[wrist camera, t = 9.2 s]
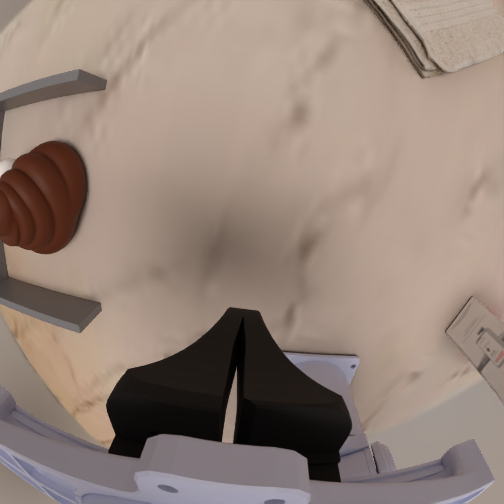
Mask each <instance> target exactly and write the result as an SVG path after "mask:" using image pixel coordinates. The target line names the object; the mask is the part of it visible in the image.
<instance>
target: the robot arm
mask: <svg viewBox="0 0 504 504" xmlns="http://www.w3.org/2000/svg"><path fill="white" fill-rule="evenodd" d="M359 362H360V360H359V357H357V356H338V355H317V354H302V353H289V352H282V351H281V349H280V348H279V347H278V345H277V344H276V342H275V341H274V339H273V338H272V336H271V334H270V333H269V331H268V329H267V327H266V325H265V323H264V321H263V319H262V316H261V313H260V312H259V311H256V310H248V309H240V308H232V307H230V308H228V309H227V311H226V312H225V313H224V315H223V316H222V317H221V318H220V320H219V321H218V322H217V323H216V324H215V325H214V326H213V327H212V328H211V329H210V330H209V331H208V332H207V333H205V334H204V335H203V336H202V337H201V338H200V339H198V340H197V341H196V342H194V343H193V344H192V345H190V346H189V347H187V348H185V349H184V350H182V351H180V352H178V353H176V354H174V355H172V356H170V357H168V358H165V359H163V360H160V361H157V362H154V363H151V364H148V365H144V366H140V367H135V368H131V369H128V370H127V371H126V372H125V374H124V375H123V376H122V377H121V378H120V380H119V381H118V383H117V384H116V386H115V388H114V389H113V391H112V393H111V394H110V396H109V398H108V400H107V403H106V408H107V413H108V416H109V418H110V421H111V424H112V427H113V429H114V432H115V434H116V435H115V438H114V440H113V442H112V444H111V446H110V448H109V449H106V448H103V447H101V446H98V445H95V444H93V443H90V442H88V441H86V440H83V439H81V438H79V437H76V436H74V435H72V434H70V433H67V432H65V431H63V430H61V429H59V428H57V427H55V426H53V425H51V424H49V423H47V422H45V421H43V420H41V419H40V418H38V417H36V416H34V415H32V414H31V413H29V412H27V411H26V410H24V409H22V408H21V407H19V406H17V405H16V402H15V400H14V398H13V396H12V395H11V393H10V392H9V391H8V390H7V389H5V387H3V386H1V385H0V462H1V463H3V464H4V465H5V466H6V467H8V468H9V469H10V470H11V471H13V472H14V473H15V474H17V475H18V476H20V477H21V478H22V479H24V480H25V481H26V482H28V483H29V484H31V485H32V486H34V487H35V488H37V489H38V490H40V491H41V492H43V493H44V494H46V495H47V496H49V497H50V498H52V499H54V500H56V501H57V502H59V503H60V504H467V503H469V502H470V501H471V500H473V499H474V498H475V497H476V496H478V495H479V494H480V493H481V492H483V491H484V490H485V489H486V488H488V487H489V486H490V485H491V484H492V483H494V481H495V479H494V477H493V475H492V473H491V471H490V469H489V467H488V465H487V463H486V461H485V459H484V457H483V455H482V453H481V451H480V449H479V448H478V446H477V444H476V442H475V440H474V439H472V440H469V441H466V442H463V443H460V444H457V445H455V446H453V447H452V448H450V449H449V450H448V451H447V452H446V453H445V454H444V455H443V456H442V458H441V459H438V460H435V461H432V462H428V463H424V464H421V465H417V466H413V467H409V468H405V469H400V470H396V467H395V464H394V461H393V458H392V455H391V453H390V451H389V449H388V447H387V446H386V445H384V444H380V442H375V443H372V444H371V447H372V451H373V455H374V456H373V458H374V462H375V465H376V468H375V465H374V462H373V458H372V455H371V451H370V448H369V445H368V441H367V438H366V435H365V433H363V430H362V426H361V423H360V420H359V417H358V413H357V410H356V407H355V404H354V401H353V398H352V395H351V391H350V388H349V386H350V383H351V381H352V379H353V377H354V374H355V372H356V370H357V367H358V365H359ZM351 365H353V366H351ZM236 368H237V414H236V423H235V431H234V440H233V444H231V443H223V442H222V436H223V428H224V421H225V414H226V408H227V403H228V399H229V395H230V392H231V388H232V384H233V380H234V376H235V372H236Z"/></svg>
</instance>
